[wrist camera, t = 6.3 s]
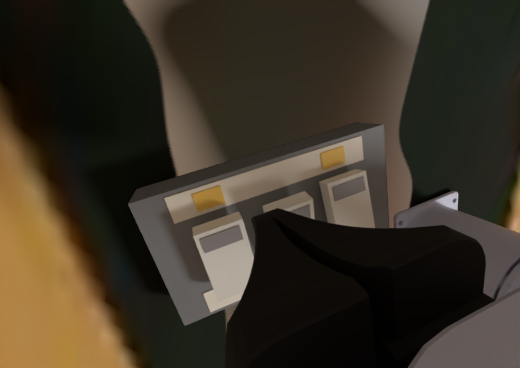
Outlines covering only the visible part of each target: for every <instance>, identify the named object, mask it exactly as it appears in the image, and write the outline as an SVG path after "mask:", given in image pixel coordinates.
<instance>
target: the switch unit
mask: <svg viewBox="0 0 520 368" xmlns="http://www.w3.org/2000/svg"><path fill="white" fill-rule="evenodd" d="M354 169H359V170H364V171H366V175H367V181H368V187H369V193H370V199H371V205H372V211H373V217H374V223H375V228H389V214H388V195H387V177H386V159H385V141H384V124H373V123H360V122H356V123H353V124H350V125H346V126H343V127H340V128H337V129H333V130H330V131H327V132H323V133H320V134H317V135H313V136H310V137H307V138H303V139H300V140H297V141H294V142H290V143H287V144H284V145H280V146H277V147H274V148H271V149H267V150H264V151H261V152H257V153H254V154H251V155H247V156H244V157H241V158H238V159H234V160H231V161H227V162H224V163H221V164H217V165H214V166H211V167H208V168H205V169H201V170H198V171H195V172H191V173H188V174H185V175H181V176H178V177H175V178H171V179H168V180H165V181H161V182H158V183H155V184H151V185H148V186H145V187H141V188H138V189H136V191H135V193H134V194H133V196H132V198H131V200H130V201H129V203H128V205H129V208H130V210H131V212H132V214H133V216H134V218H135V220H136V223H137V225H138V227H139V229H140V231H141V233H142V235H143V238H144V240H145V242H146V244H147V246H148V248H149V250H150V253H151V255H152V257H153V259H154V261H155V263H156V265H157V268H158V270H159V272H160V274H161V276H162V278H163V280H164V283H165V285H166V287H167V289H168V291H169V293H170V295H171V298H172V300H173V302H174V304H175V306H176V308H177V310H178V312H179V315H180V317H181V319H182V321H183V323H184V325H185V326H186V325H188V324H190V323H193V322H195V321H197V320H200V319H202V318H204V317H207V316H209V315H211V314H214V313H216V312H218V311H221V310H223V309H225V308H228V307H230V306H232V305H235V304H237V303H239V302H240V300H241V297H242V295H243V292H242V293H240V294H237V295H235V296H232V297H230V298H228V299H225V300H223V301H220V302H218V299H217V297H216V294H215V292H214V289H213V287H212V284H211V281H210V279H209V276H208V274H207V271H206V269H205V266H204V263H203V261H202V258H201V256H200V253H199V251H198V248H197V245H196V243H195V240H194V238H193V231H192V227H195V226H198V225H201V224H204V223H207V222H209V221H212V220H215V219H218V218H221V217H224V216H227V215H230V214H232V213H235V212H238V211H239V213H240V215H241V217H242V219H243V222H244V225H245V229H246V232H247V236H248V239H249V243H250V246H251V250H252V253H253V257H254V253H255V232H254V229H253V226H252V222H251V219H252V217H254V216H257V215H260V214H263V213H264V211H263V207H262V206H263V205H266V204H269V203H272V202H275V201H278V200H280V199H283V198H286V197H289V196H292V195H295V194H298V193H300V192H303V191H305V192H306V193H307V194H308V195H309V196H310V197H311V198H312V199H313V204H314V217H315V220H319V221H323V222H327V223H328V221H327V216H326V212H325V207H324V202H323V198H322V193H321V189H320V184H319V182H320V181H322V180H325V179H328V178H331V177H334V176H337V175H340V174H343V173H346V172H348V171H351V170H354Z"/></svg>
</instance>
